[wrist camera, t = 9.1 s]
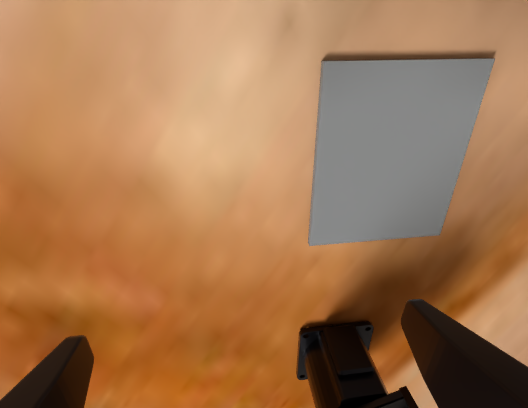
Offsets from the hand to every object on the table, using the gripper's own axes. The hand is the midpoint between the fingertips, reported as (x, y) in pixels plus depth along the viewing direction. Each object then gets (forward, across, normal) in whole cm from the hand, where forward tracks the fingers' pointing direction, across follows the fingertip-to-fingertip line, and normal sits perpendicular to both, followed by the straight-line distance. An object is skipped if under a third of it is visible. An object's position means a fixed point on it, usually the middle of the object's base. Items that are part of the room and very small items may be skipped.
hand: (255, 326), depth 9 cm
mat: (+12, -10, 0) cm, 16 cm away
